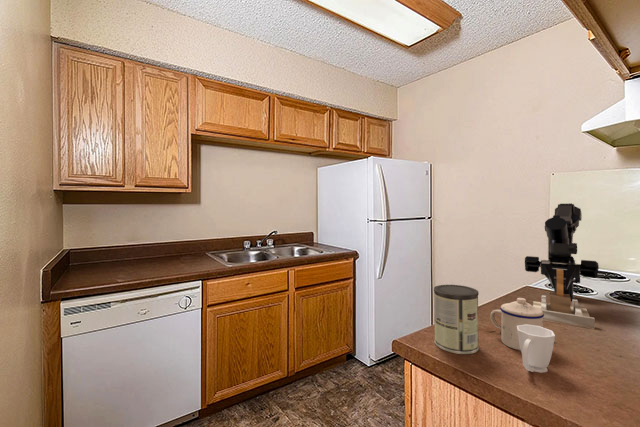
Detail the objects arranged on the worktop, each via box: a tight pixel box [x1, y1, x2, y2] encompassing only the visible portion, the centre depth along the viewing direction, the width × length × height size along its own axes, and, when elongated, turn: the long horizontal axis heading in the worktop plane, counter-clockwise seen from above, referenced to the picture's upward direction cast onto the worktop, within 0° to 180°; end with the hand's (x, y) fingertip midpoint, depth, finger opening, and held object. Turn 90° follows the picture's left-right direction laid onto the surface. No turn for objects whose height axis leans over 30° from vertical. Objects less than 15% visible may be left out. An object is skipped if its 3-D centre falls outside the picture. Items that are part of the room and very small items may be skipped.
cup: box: [517, 324, 556, 374], centre depth 64 cm, size 7×10×8 cm
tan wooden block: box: [549, 269, 572, 314], centre depth 96 cm, size 5×5×13 cm
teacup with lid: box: [489, 297, 544, 352], centre depth 77 cm, size 12×9×12 cm
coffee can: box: [433, 284, 480, 355], centre depth 76 cm, size 10×10×14 cm
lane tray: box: [532, 295, 596, 330], centre depth 94 cm, size 20×14×4 cm
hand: (560, 288), depth 95 cm, fingers open, 3 cm apart
